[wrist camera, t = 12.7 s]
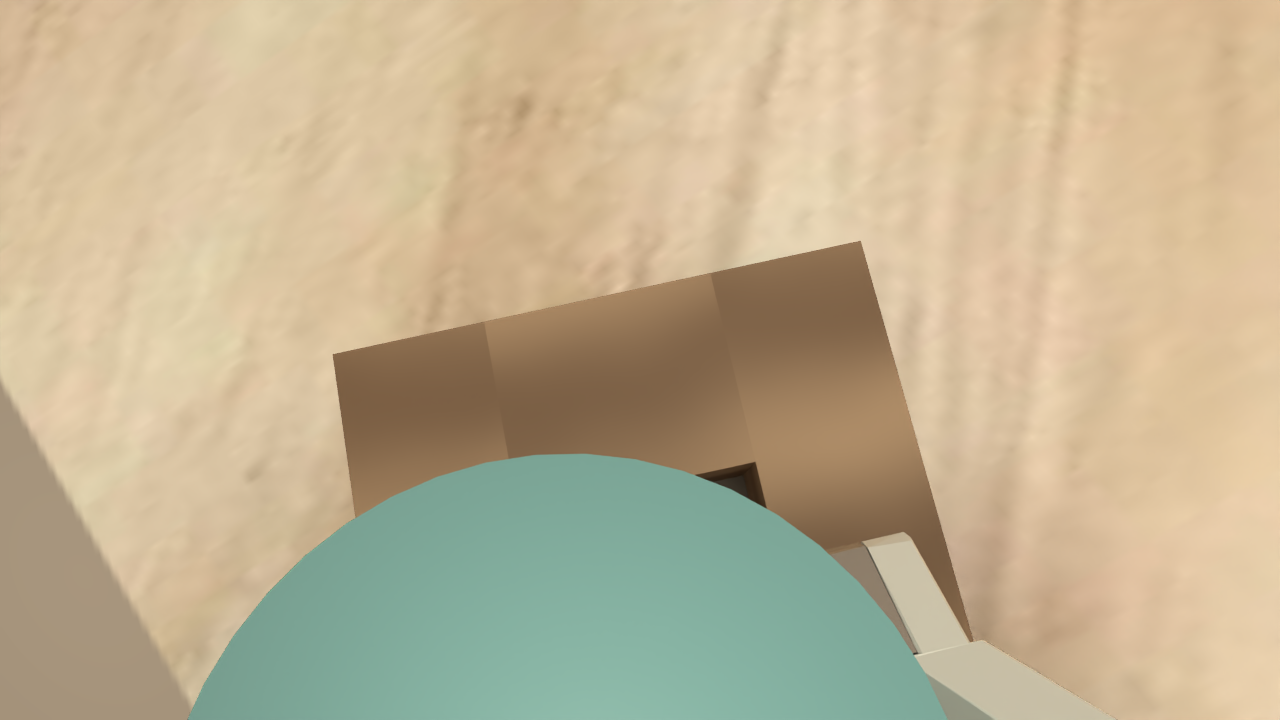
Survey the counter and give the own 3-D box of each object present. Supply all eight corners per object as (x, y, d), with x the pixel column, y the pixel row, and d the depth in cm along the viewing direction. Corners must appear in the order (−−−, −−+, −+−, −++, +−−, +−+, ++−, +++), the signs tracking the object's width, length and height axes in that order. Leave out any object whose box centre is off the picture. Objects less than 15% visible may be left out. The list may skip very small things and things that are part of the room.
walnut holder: (974, 838, 25) (1048, 909, 20) (478, 948, 24) (429, 1047, 20) (827, 294, 28) (860, 241, 23) (392, 389, 28) (332, 354, 23)
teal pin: (777, 730, 16) (1105, 1272, 4) (553, 781, 15) (191, 1488, 4) (724, 504, 16) (858, 379, 5) (512, 551, 16) (111, 546, 5)
